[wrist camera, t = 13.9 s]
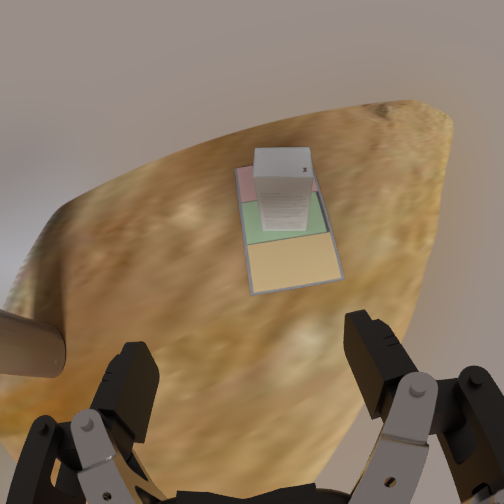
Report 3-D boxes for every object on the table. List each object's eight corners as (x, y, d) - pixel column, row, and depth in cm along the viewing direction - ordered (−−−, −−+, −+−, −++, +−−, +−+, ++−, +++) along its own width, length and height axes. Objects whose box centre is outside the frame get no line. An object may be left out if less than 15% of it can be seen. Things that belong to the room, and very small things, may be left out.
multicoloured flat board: (251, 295, 35) (250, 294, 34) (234, 170, 42) (234, 167, 41) (343, 279, 34) (344, 278, 33) (309, 159, 42) (309, 156, 41)
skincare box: (305, 204, 38) (312, 146, 27) (306, 232, 36) (315, 178, 25) (262, 204, 38) (254, 146, 27) (260, 231, 37) (252, 177, 26)
